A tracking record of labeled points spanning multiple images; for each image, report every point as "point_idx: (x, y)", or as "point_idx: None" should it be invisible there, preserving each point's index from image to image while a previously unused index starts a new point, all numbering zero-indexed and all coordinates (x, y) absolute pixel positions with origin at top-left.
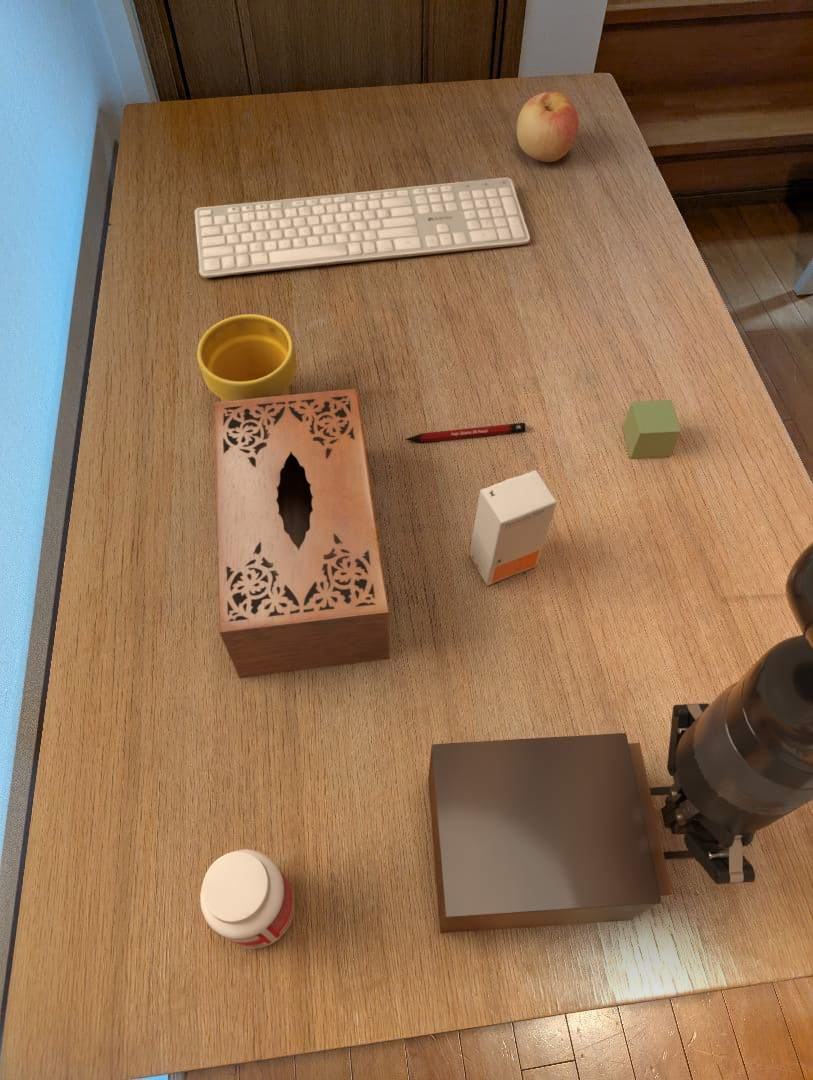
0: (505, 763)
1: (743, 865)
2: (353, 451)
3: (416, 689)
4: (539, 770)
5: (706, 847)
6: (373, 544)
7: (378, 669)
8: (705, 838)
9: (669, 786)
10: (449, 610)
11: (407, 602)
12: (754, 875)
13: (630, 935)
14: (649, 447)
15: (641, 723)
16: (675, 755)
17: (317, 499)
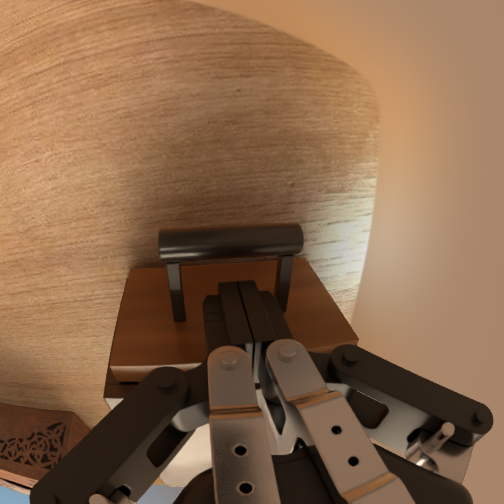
0: (178, 468)
1: (468, 442)
2: None
3: (90, 403)
4: (182, 456)
5: (383, 435)
6: (20, 476)
7: (84, 417)
8: (348, 397)
9: (168, 279)
10: (17, 376)
11: (26, 396)
12: (491, 426)
13: (319, 265)
14: None
15: (62, 219)
16: (167, 465)
17: (12, 480)
